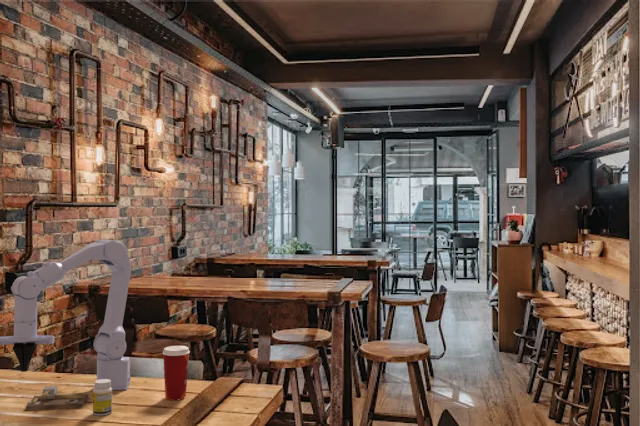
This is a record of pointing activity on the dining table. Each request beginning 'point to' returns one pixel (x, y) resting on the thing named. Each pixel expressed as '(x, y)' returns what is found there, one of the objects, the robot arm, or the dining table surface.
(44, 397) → the sliding leg
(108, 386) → the supplement bottle
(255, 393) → the dining table surface
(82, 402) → the wooden mechanism board
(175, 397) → the paper cup
